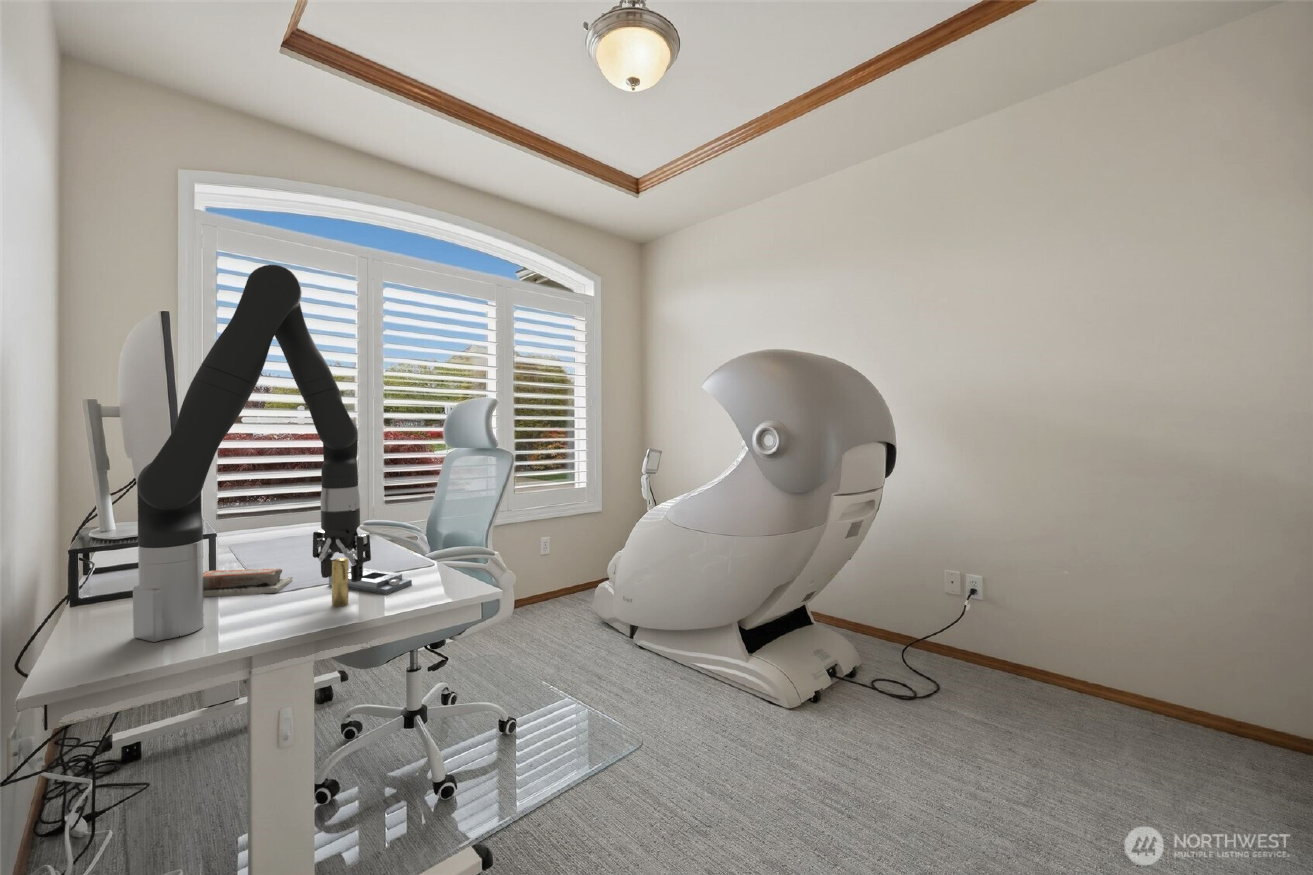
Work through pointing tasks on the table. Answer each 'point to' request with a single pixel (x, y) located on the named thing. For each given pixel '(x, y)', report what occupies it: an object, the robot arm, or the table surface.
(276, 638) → the table surface
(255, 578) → the packaged product
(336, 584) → the brass pin
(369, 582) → the grey plate with window
